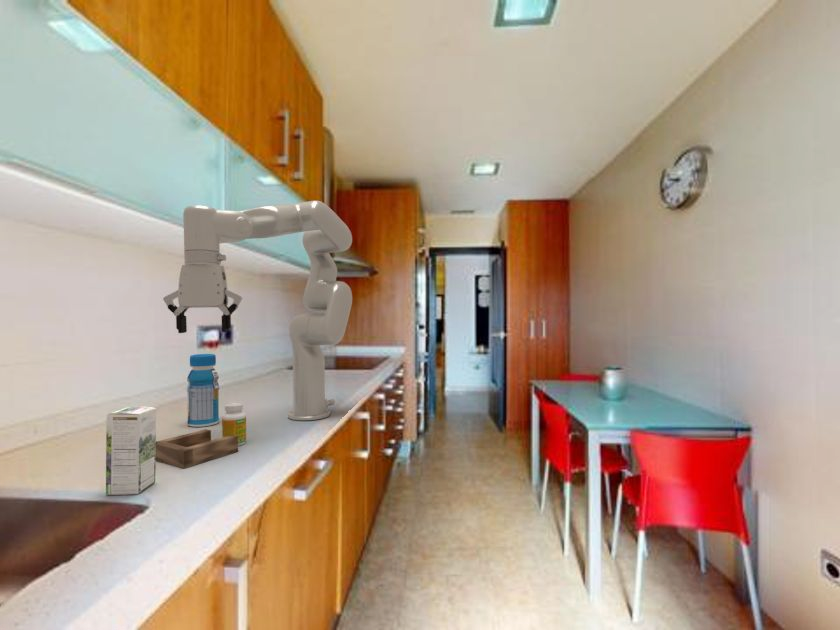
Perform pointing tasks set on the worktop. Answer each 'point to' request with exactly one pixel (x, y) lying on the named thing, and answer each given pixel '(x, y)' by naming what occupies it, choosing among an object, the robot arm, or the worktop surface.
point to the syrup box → (130, 450)
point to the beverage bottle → (203, 391)
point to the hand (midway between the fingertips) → (204, 332)
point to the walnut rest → (194, 448)
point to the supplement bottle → (234, 422)
